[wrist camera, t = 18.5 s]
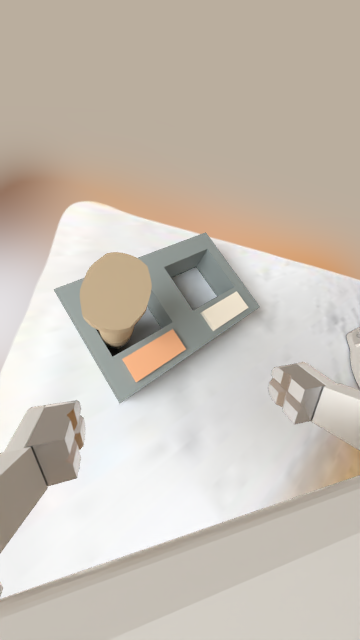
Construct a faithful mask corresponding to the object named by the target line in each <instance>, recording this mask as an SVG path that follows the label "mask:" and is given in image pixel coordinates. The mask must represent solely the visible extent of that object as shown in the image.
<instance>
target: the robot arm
mask: <svg viewBox="0 0 360 640" xmlns="http://www.w3.org/2000/svg"><path fill="white" fill-rule="evenodd" d="M347 341H348V344H349V347H350V360H351V367H352V371H353V374H354V377H355V379H356V381H357V383H358V385H359V387H360V327H358V328H356V329H355V330H353V331H351V332H349V333H348V334H347ZM271 376H272V378H273V379H272V380H271V381H270V382H269V386H268V391H269V395H270V397H271V399H272V400H273V401H274V402H275V404H277V405H279V406H281V407H282V409H283V413H284V414H285V415H286V416H287V417H288V418H289V419H290V420H291V421H292V423H293V424H299V423H303V422H308V421H312V422H313V423H314V424H316V425H318V426H319V427H321V428H323V429H324V430H326V431H328V432H329V433H331V434H333V435H334V436H336V437H338V438H340V439H341V440H343V441H345V442H346V443H348V444H350V445H351V446H353V447H355V448H356V449H358V450H360V390H358V389H355V388H352V387H349V386H346V385H343V384H340V383H339V384H336V383H335V382H334V381H332V380H331V379H329V378H328V377H326V376H325V375H324V374H322V373H321V372H319V371H318V370H316V369H315V368H313V367H312V366H311V365H309V364H308V363H305V362H300V363H295V364H290V365H284V366H279V367H274V368H273V369H272V372H271ZM80 412H81V406H80V402H79V401H78V400H76V401H69V402H62V403H55V404H49V405H44V406H37V407H31V408H30V409H28V410H27V411H26V413H25V415H24V417H23V419H22V420H21V422H20V424H19V426H18V428H17V429H16V431H15V433H14V435H13V436H12V438H11V440H10V442H9V444H8V445H7V447H6V449H5V451H4V452H3V453H0V553H1V552H2V550H3V549H4V548H5V546H6V545H7V543H8V542H9V541H10V539H11V538H12V537H13V535H14V534H15V532H16V531H17V530H18V528H19V527H20V526H21V524H22V523H23V521H24V520H25V519H26V517H27V516H28V515H29V513H30V512H31V510H32V509H33V508H34V506H35V505H36V504H37V502H38V501H39V499H40V498H41V497H42V495H43V494H44V492H45V491H46V490H47V488H48V487H47V486H51V485H54V484H58V483H61V482H65V481H69V480H72V479H76V478H77V476H78V471H79V466H80V461H81V455H80V452H79V450H80V449H81V448H82V446H83V445H84V440H85V422H84V417H82V416H81V415H80ZM2 590H3V586H2V584H1V582H0V596H1V593H2ZM0 640H360V475H359V476H356V477H353V478H350V479H347V480H344V481H341V482H338V483H336V484H333V485H330V486H327V487H324V488H321V489H318V490H315V491H312V492H309V493H306V494H304V495H301V496H298V497H295V498H292V499H289V500H286V501H283V502H280V503H277V504H274V505H272V506H269V507H266V508H263V509H260V510H257V511H254V512H251V513H248V514H245V515H242V516H240V517H237V518H234V519H231V520H228V521H225V522H222V523H219V524H216V525H213V526H210V527H208V528H205V529H202V530H199V531H196V532H193V533H190V534H187V535H184V536H181V537H178V538H176V539H173V540H170V541H167V542H164V543H161V544H158V545H155V546H152V547H149V548H147V549H144V550H141V551H138V552H135V553H132V554H129V555H126V556H123V557H120V558H118V559H115V560H112V561H109V562H106V563H103V564H100V565H97V566H94V567H91V568H89V569H86V570H83V571H80V572H77V573H74V574H71V575H68V576H65V577H62V578H59V579H57V580H54V581H51V582H48V583H45V584H42V585H39V586H36V587H33V588H30V589H28V590H25V591H22V592H19V593H16V594H13V595H10V596H7V597H4V598H1V599H0Z"/></svg>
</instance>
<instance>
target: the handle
mask: <svg viewBox="0 0 360 640" xmlns="http://www.w3.org/2000/svg"><path fill="white" fill-rule="evenodd" d="M151 289H152V284H151V278H150V274H149V270H148V267H147V265H146V264H145V263H143V262H142V261H141V260H139V259H138V258H136V257H134V256H131V255H128V254H124V253H118V252H113V253H107V254H105V255H104V256H103V257H101V258H100V259H99V260H97V261H96V262H95V263H94V264H93V265H92V266H91V267H90V268H89V270H88V271H87V273H86V276H85V278H84V280H83V283H82V285H81V289H80V303H81V310H82V315H83V318H84V319H85V321H86V322H87V323H88V324H89V325H91V326H92V327H93V328H95V329H97V330H99V332H100V335H101V338H102V339H103V341H104V342H105V343H106V345H107V346H108V347H114V348H116V349H120V348H121V346H123V345H125V344H126V343H127V342H128V341H129V339H130V337H131V335H132V333H133V330H134V325H135V324H136V323H137V322H138V321H139V320H140V319H141V317H142V316H143V315H144V313H145V311H146V308H147V305H148V301H149V298H150V294H151Z"/></svg>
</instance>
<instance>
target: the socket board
mask: <svg viewBox="0 0 360 640" xmlns="http://www.w3.org/2000/svg"><path fill="white" fill-rule="evenodd" d="M138 259H139V260H141V261H142V262H143V263H145V264H146V265H147V267H148V270H149V274H150V278H151V284H152V289H151V294H150V298H149V301H148V305H147V306H148V308H149V310H150V311H151V313H152V314H153V316H154V317H155V319H156V320H157V322H158V324H159V325H160V327H161V328H162V329H160V330H158V331H157V332H155V333H153V334H151V335H150V336H148V337H146V338H144V339H143V340H141V341H139V342H137V343H136V344H134V345H132V346H130V347H129V348H127V349H125V350H124V351H122V352H120V353H118V354H117V355H115V356H113V357H112V355H111V353H110V352H109V350H108V348H107V347H106V345H105V343H104V342H103V340H102V338H101V337H100V335H99V333H98V332H97V330H96V329H95V328H93V327H92V326H91V325H89V324H88V323H87V322H86V321H85V319H84V318H83V315H82V310H81V303H80V289H81V285H82V283H83V280H84V278H83V279H80V280H77V281H75V282H72V283H69V284H67V285H64V286H61V287H59V288H56V289H54V291H55V293H56V294H57V296H58V298H59V299H60V301H61V303H62V305H63V306H64V308H65V310H66V312H67V313H68V315H69V317H70V318H71V320H72V322H73V324H74V325H75V327H76V329H77V330H78V332H79V334H80V336H81V337H82V339H83V341H84V343H85V344H86V346H87V348H88V349H89V351H90V353H91V355H92V356H93V358H94V360H95V362H96V363H97V365H98V367H99V368H100V370H101V372H102V374H103V375H104V377H105V379H106V381H107V382H108V384H109V386H110V387H111V389H112V391H113V393H114V394H115V396H116V398H117V400H118V401H119V403H121V402H123V401H124V400H126V399H127V398H129V397H130V396H132V395H133V394H134V393H136V392H137V391H139V390H140V389H142V388H143V387H145V386H146V385H148V384H149V383H150V382H152V381H153V380H155V379H156V378H158V377H159V376H161V375H162V374H163V373H165V372H166V371H168V370H169V369H171V368H172V367H174V366H175V365H177V364H178V363H179V362H181V361H182V360H184V359H185V358H187V357H188V356H190V355H191V354H192V353H194V352H195V351H197V350H198V349H200V348H201V347H203V346H204V345H205V344H207V343H208V342H210V341H211V340H213V339H214V338H216V337H217V336H219V335H220V334H221V333H223V332H224V331H226V330H227V329H229V328H230V327H232V326H233V325H234V324H236V323H237V322H239V321H240V320H242V319H243V318H245V317H246V316H248V315H249V314H250V313H252V312H253V311H255V310H256V309H258V308H259V307H260V306H259V305H258V303H257V302H256V301H255V299H254V298H253V297H252V295H251V294H250V292H249V291H248V290H247V288H246V287H245V286H244V284H243V283H242V282H241V280H240V279H239V277H238V276H237V275H236V273H235V272H234V271H233V269H232V268H231V266H230V265H229V264H228V262H227V261H226V260H225V258H224V257H223V255H222V254H221V253H220V251H219V250H218V249H217V247H216V246H215V244H214V243H213V242H212V240H211V239H210V238H209V236H208V235H207V233H203V234H200V235H198V236H195V237H192V238H190V239H187V240H184V241H182V242H179V243H176V244H174V245H171V246H168V247H166V248H163V249H160V250H158V251H155V252H152V253H150V254H147V255H144V256H142V257H139V258H138ZM194 267H197V268H198V270H199V271H200V273H201V274H202V276H203V277H204V278H205V280H206V281H207V283H208V284H209V285H210V287H211V288H212V290H213V291H214V293H215V294H216V295H217V297H216V298H214V299H212V300H211V301H209V302H207V303H205V304H204V305H202V306H200V307H198V308H197V309H195V310H193V309H192V308H191V307H190V305H189V304H188V302H187V301H186V299H185V298H184V296H183V295H182V293H181V292H180V290H179V289H178V287H177V286H176V284H175V283H174V281H173V280H172V277H174V276H176V275H179V274H181V273H183V272H185V271H187V270H190V269H192V268H194Z"/></svg>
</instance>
